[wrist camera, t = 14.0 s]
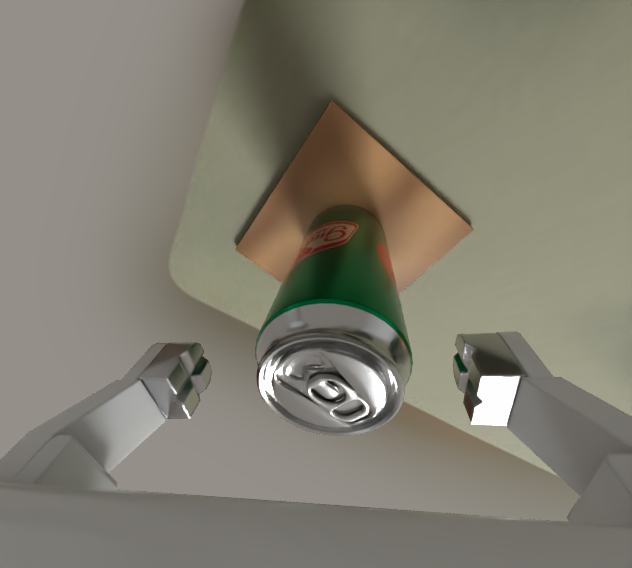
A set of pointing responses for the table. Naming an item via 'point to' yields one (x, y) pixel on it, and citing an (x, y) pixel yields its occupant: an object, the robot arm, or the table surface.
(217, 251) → the table surface
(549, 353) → the table surface
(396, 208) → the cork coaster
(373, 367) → the soda can
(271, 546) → the robot arm
